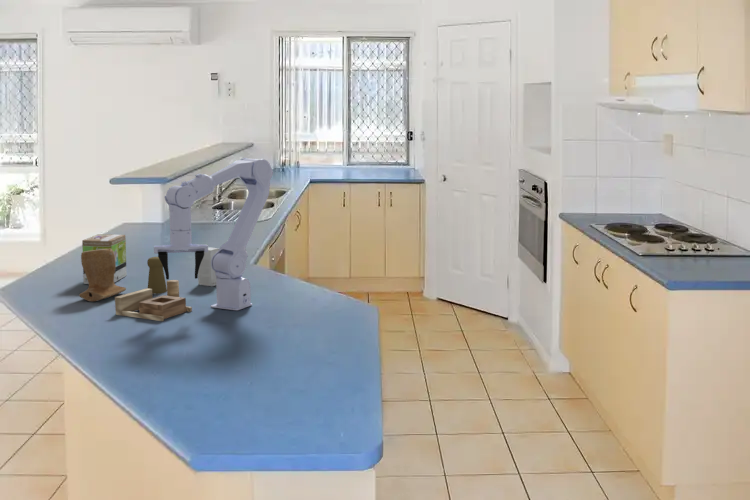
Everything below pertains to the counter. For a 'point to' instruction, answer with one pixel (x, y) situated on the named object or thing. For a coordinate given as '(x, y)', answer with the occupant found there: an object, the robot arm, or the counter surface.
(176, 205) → the robot arm
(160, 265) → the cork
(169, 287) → the oak dowel
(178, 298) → the walnut block
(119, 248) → the tea box
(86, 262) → the brown wooden stand
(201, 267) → the skincare box
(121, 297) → the birch rail and backstop
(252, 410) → the counter surface
